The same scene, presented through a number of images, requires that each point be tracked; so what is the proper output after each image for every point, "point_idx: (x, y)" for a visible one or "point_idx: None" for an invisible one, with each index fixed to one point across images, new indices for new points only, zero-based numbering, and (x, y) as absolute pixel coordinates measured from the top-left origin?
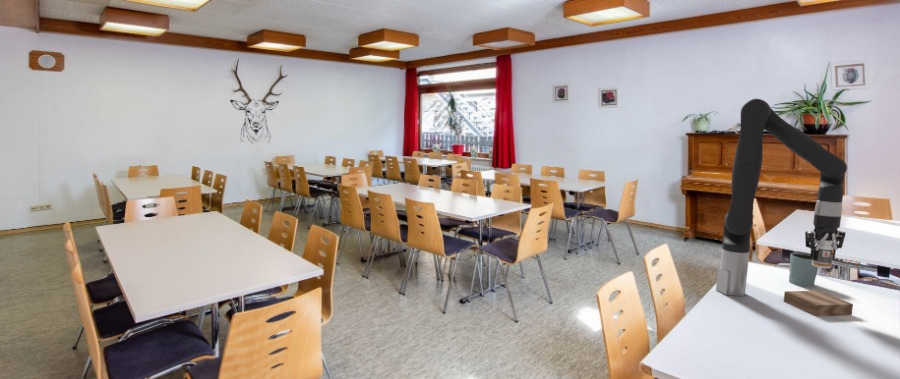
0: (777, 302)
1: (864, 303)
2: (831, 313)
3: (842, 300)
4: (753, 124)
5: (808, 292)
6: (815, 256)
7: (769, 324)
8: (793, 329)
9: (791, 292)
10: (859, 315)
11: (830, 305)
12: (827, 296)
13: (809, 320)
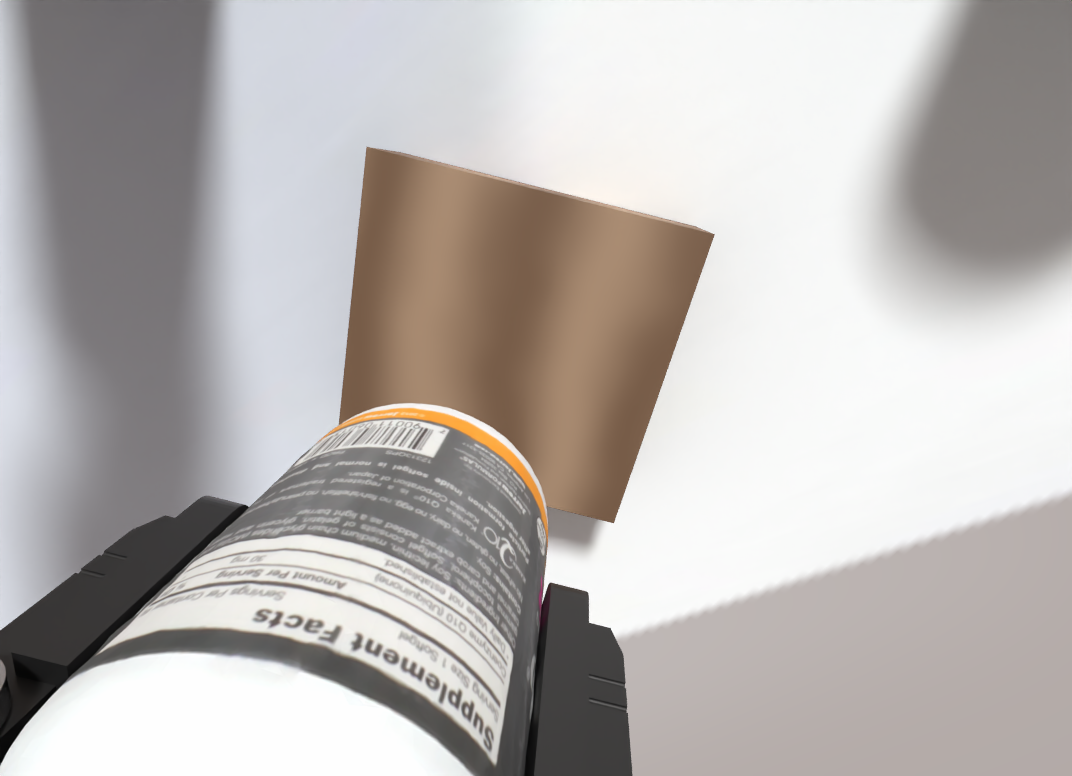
0: (337, 149)
1: (981, 387)
2: None
3: (627, 457)
4: None
5: (560, 242)
6: None
7: (5, 404)
8: (91, 485)
9: (404, 190)
10: (654, 497)
11: None
12: (613, 365)
13: (276, 443)
